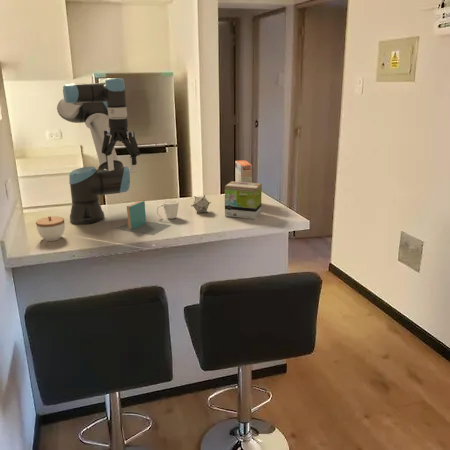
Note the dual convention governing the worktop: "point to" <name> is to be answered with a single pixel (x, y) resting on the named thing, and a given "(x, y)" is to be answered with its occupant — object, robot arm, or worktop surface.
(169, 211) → the cup
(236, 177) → the cracker box
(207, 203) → the game die
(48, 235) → the lidded jar
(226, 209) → the tea box
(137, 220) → the tile
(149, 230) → the mat
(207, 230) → the worktop surface
